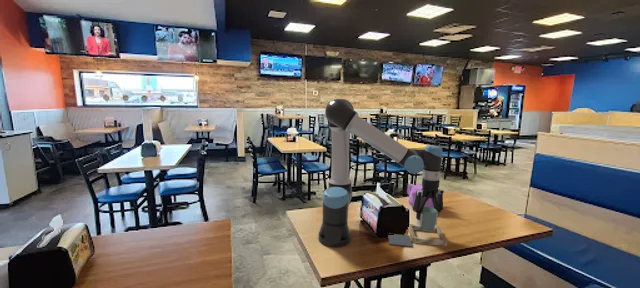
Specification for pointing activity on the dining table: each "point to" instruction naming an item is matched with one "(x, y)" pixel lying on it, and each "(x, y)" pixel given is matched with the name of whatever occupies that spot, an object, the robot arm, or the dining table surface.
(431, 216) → the cup
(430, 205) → the teapot
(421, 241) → the holder
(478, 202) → the dining table surface
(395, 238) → the coaster
